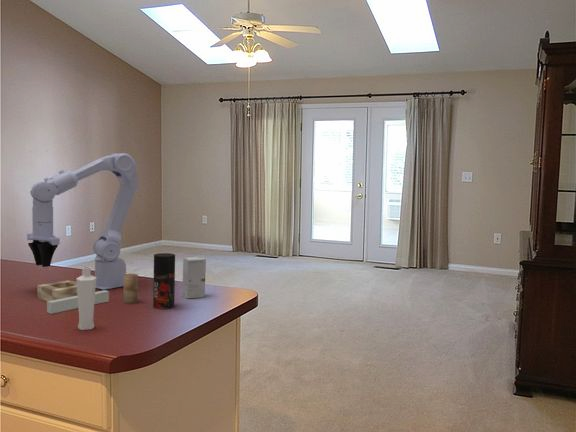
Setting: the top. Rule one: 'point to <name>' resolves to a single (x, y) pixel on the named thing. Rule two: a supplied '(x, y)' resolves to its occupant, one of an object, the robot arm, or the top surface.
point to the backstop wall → (74, 302)
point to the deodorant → (164, 281)
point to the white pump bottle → (86, 298)
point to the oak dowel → (130, 288)
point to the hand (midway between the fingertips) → (43, 265)
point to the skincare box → (194, 277)
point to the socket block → (56, 290)
